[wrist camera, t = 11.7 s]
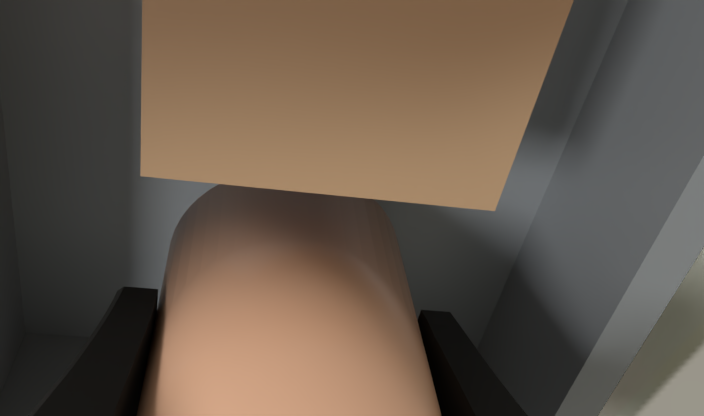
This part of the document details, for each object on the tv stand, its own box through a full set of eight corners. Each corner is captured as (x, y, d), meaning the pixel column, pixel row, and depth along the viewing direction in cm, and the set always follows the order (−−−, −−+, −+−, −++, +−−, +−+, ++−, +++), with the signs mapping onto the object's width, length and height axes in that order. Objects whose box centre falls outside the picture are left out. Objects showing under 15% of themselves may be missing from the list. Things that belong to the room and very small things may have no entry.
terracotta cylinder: (371, 351, 17) (424, 675, 11) (163, 336, 16) (101, 684, 10) (424, 182, 14) (533, 499, 8) (175, 152, 13) (99, 488, 7)
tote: (484, 360, 21) (536, 512, 17) (-1, 329, 18) (-80, 502, 14) (825, -399, 11) (1157, -477, 7) (-140, -725, 8) (-549, -1180, 4)
